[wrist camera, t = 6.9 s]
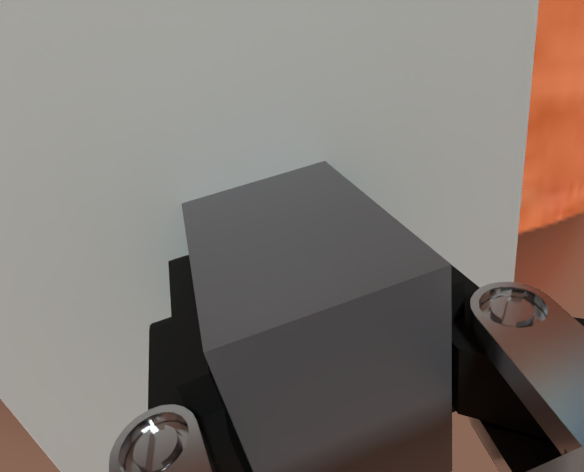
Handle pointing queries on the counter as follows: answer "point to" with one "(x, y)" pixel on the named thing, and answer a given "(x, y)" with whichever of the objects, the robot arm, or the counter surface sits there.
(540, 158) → the counter surface
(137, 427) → the robot arm
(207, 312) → the lid
